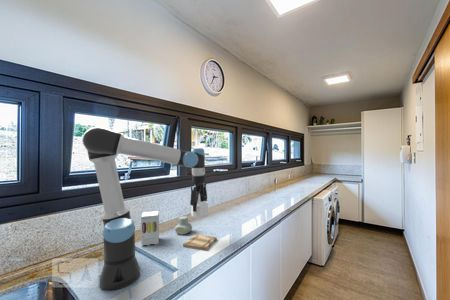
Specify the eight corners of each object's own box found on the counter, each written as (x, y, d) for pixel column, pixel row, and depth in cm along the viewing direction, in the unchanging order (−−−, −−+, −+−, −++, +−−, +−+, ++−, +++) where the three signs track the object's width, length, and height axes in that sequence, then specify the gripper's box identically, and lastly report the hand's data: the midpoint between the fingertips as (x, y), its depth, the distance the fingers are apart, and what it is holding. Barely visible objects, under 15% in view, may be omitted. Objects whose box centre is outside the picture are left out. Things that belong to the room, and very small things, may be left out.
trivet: (205, 250, 107) (205, 247, 107) (183, 246, 112) (183, 243, 112) (216, 239, 120) (216, 236, 120) (195, 236, 125) (195, 233, 125)
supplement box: (140, 246, 114) (140, 216, 114) (142, 240, 122) (142, 212, 123) (158, 244, 116) (158, 214, 116) (159, 237, 125) (158, 210, 125)
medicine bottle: (200, 213, 121) (199, 193, 121) (208, 215, 117) (208, 194, 117) (191, 216, 116) (190, 195, 116) (199, 218, 111) (199, 196, 111)
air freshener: (193, 231, 134) (193, 216, 135) (188, 236, 126) (188, 220, 127) (179, 229, 137) (178, 215, 137) (172, 234, 129) (172, 219, 130)
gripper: (194, 177, 105) (196, 221, 105) (212, 173, 125) (213, 210, 125) (182, 177, 108) (183, 219, 108) (201, 173, 128) (202, 209, 127)
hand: (199, 214), depth 116 cm, fingers closed on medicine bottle, 8 cm apart
